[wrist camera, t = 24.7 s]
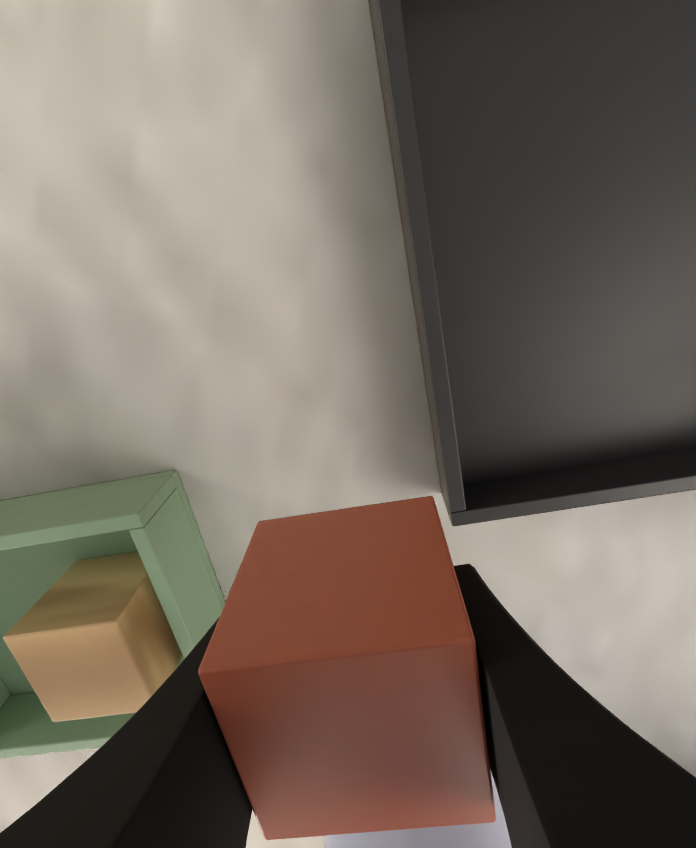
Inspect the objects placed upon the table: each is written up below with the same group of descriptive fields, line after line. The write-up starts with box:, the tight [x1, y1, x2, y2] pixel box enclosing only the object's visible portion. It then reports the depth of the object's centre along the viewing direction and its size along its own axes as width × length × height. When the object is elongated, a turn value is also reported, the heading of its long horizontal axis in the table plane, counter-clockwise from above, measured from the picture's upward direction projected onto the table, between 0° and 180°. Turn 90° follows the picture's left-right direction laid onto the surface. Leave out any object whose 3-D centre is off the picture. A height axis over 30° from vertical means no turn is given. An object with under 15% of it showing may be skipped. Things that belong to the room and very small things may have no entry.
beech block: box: [3, 551, 182, 722], centre depth 19 cm, size 4×4×4 cm
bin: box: [0, 470, 225, 759], centre depth 20 cm, size 11×13×4 cm
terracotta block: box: [198, 496, 496, 840], centre depth 10 cm, size 4×4×4 cm
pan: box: [368, 0, 696, 526], centre depth 14 cm, size 17×13×2 cm
